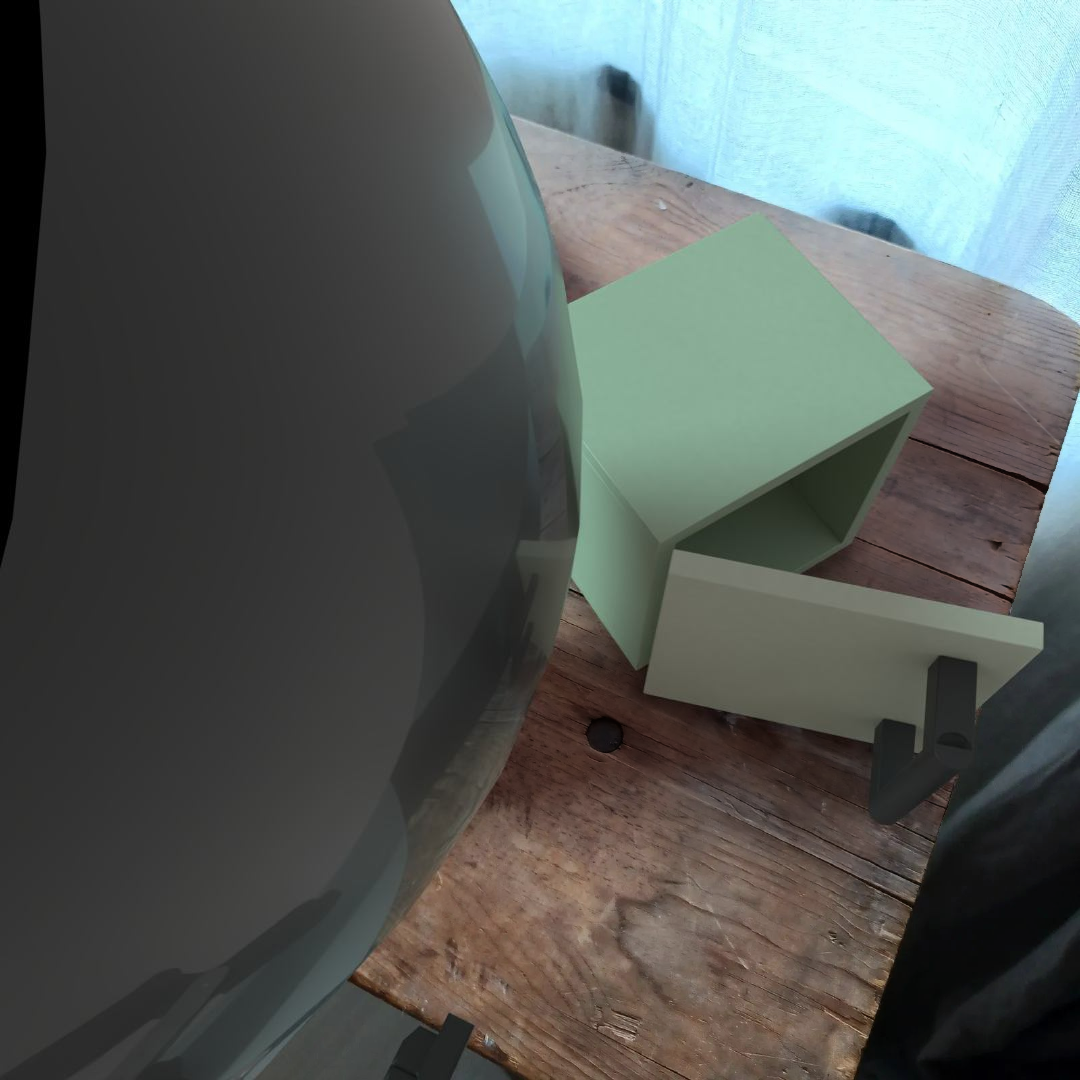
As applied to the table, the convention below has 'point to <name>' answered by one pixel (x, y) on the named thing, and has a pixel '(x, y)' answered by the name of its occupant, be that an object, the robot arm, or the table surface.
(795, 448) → the pale green box
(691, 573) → the door
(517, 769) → the table surface
